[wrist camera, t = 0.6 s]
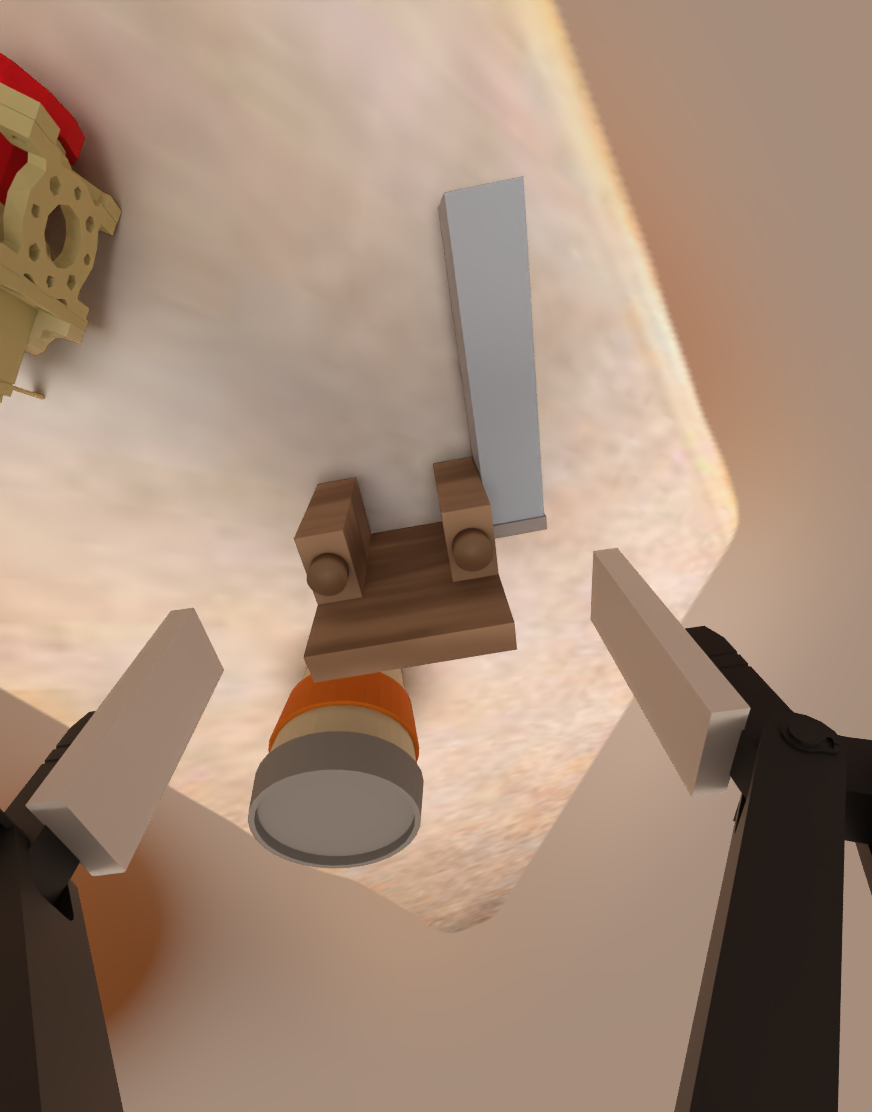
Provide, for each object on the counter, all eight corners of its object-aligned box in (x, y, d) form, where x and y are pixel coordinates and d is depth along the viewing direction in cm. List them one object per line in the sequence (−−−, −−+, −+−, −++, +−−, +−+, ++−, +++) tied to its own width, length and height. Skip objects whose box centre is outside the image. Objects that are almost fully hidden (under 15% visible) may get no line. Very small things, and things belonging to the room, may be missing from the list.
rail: (436, 208, 28) (442, 192, 23) (506, 193, 27) (526, 174, 23) (478, 509, 38) (488, 539, 33) (529, 500, 37) (546, 529, 33)
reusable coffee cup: (323, 600, 41) (286, 743, 28) (443, 651, 45) (458, 798, 32) (270, 690, 46) (217, 847, 33) (381, 729, 50) (373, 883, 37)
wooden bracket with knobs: (318, 484, 36) (273, 584, 24) (471, 456, 35) (506, 545, 23) (341, 560, 39) (313, 682, 27) (482, 536, 39) (517, 649, 27)
